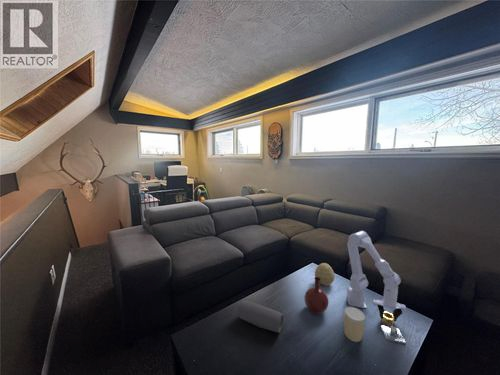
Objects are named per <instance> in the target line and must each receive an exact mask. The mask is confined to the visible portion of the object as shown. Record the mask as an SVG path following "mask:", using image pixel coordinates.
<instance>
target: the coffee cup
mask: <svg viewBox="0 0 500 375" xmlns="http://www.w3.org/2000/svg"><path fill="white" fill-rule="evenodd" d="M343 313H344V316H343V317H344V318H343V322H344V323H343V328H344V335H345V336H346V338H347V339H348V340H350V341H352V342H355V343H357V342H361V341H362V338H363V335H364V328H365V323H366V319H367V318H366V315H365V314H364V312H363V311H362V310H361V309H358V307H356V306H347V307H345V309H344V310H343Z"/></svg>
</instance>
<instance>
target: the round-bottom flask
mask: <svg viewBox="0 0 500 375" xmlns="http://www.w3.org/2000/svg"><path fill="white" fill-rule="evenodd" d="M320 285H321V284H320V278H319V277H314V286H313V287H310V288H308V289H307V290H306V291H305V293H304V304H305V306H306V308H307V309H308V310H309V311H310V312H312V313H314V314H323V313H324V312H326V311H327V310H328V308H329V304H330V303H329V302H330V301H329V298H328V295H327V293H326V292H325V291H324V290H323V289H322V288H320Z"/></svg>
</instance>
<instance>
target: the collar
mask: <svg viewBox="0 0 500 375" xmlns="http://www.w3.org/2000/svg"><path fill="white" fill-rule="evenodd" d="M380 319H381V318H380ZM394 320H395V318H394V316H393V313H391V312H389V311H386V310H385V311H384V314H383V319H381V322H382V323H384V324H385V325H386V326H391V325H393V326H394V324H395V321H394Z"/></svg>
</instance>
